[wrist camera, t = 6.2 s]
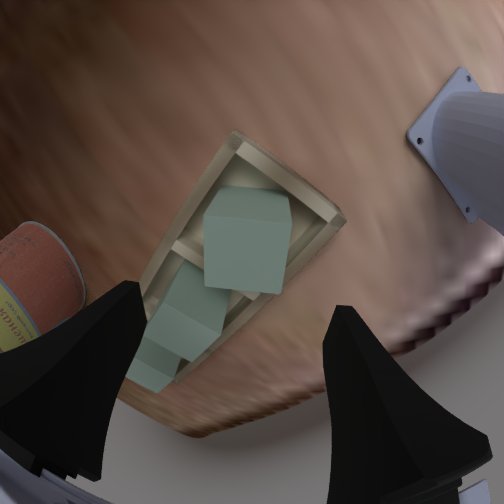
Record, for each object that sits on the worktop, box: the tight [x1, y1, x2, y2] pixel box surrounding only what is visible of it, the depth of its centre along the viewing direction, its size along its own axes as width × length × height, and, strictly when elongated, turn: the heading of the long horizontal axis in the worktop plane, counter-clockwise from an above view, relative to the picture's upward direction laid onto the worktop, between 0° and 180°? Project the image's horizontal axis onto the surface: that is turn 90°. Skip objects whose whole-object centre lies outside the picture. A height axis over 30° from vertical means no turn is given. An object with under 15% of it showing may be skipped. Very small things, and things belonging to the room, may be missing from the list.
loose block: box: [203, 185, 292, 294], centre depth 15 cm, size 4×4×5 cm
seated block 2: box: [143, 258, 231, 362], centre depth 18 cm, size 4×4×5 cm
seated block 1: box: [125, 320, 181, 394], centre depth 22 cm, size 4×4×5 cm
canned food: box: [0, 221, 86, 353], centre depth 17 cm, size 11×11×12 cm
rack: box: [139, 130, 347, 384], centre depth 20 cm, size 8×23×2 cm, turn 144°
